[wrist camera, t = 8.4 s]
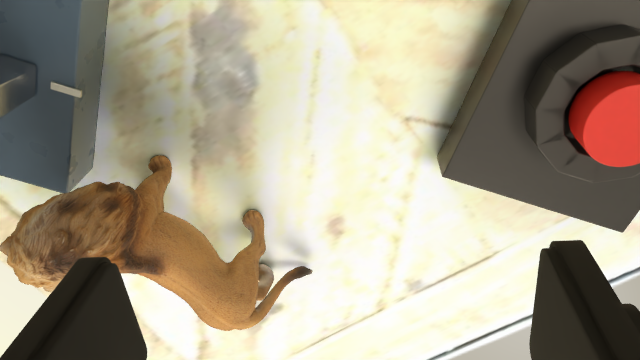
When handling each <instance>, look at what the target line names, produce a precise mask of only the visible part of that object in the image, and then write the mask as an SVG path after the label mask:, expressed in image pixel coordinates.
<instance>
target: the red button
mask: <svg viewBox="0 0 640 360" xmlns="http://www.w3.org/2000/svg"><path fill="white" fill-rule="evenodd" d="M568 120H569V127H570V130H571V132H572V134H573V136H574V137H575V138H576V140H577V141H578V142H579V143H580V144H581V146H582V147H583V148H584V149H585V150H586V152H587V153H588V154H589V155H590V156H591V157H592V158H593V159H594V160H596V161H598V162H599V163H602V164H604V165H608V166H613V167H626V166H632V165H636V164H639V163H640V74H639V73H636V72H632V71H615V72H610V73H607V74H604V75H602V76H599V77H597V78H596V79H594V80H592V81H591V82H589V83H588V84H587V85H586V86H585V87H584V88H582V89H581V91H580V92H579V93H578V94H577V96H576V97H575V99H574V101H573V103H572V105H571V108H570V111H569V119H568Z"/></svg>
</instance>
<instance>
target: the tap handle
mask: <svg viewBox="0 0 640 360" xmlns="http://www.w3.org/2000/svg"><path fill="white" fill-rule="evenodd" d="M35 84H36V65H34V64H31V63H27V62H24V61H21V60H18V59H15V58H12V57H9V56H5V55H2V54H0V118H1V117H3V116H4V115H6V114H7V113H9V112H10V111H12V110H14V109H15V108H17V107H18V106H20V105H21V104H23V103H24V102H26V101H28V100H29V99H31V98H32V97H34V96H35Z"/></svg>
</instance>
